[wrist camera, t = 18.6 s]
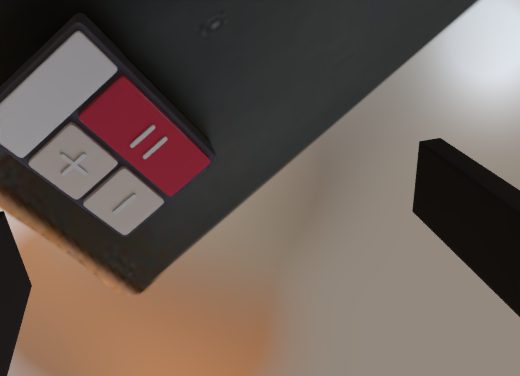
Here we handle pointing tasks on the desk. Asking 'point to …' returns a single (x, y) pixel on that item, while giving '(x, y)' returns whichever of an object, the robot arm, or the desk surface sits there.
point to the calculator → (99, 128)
